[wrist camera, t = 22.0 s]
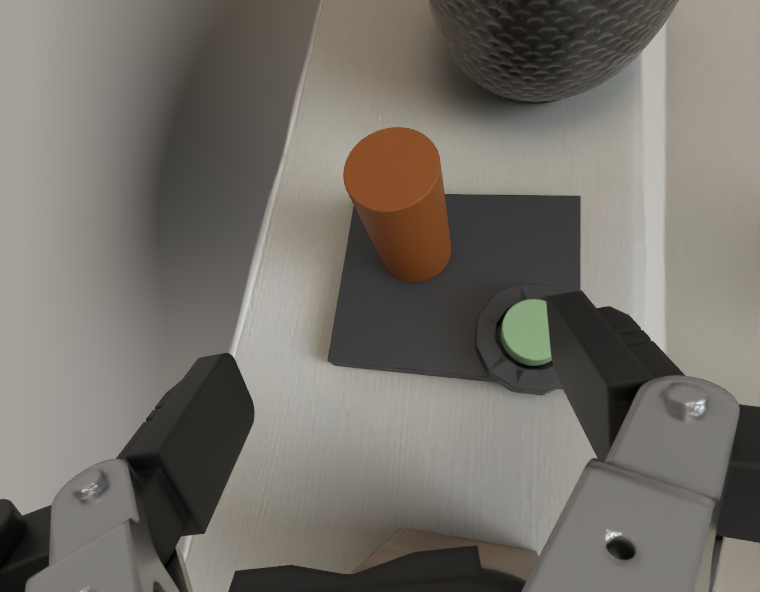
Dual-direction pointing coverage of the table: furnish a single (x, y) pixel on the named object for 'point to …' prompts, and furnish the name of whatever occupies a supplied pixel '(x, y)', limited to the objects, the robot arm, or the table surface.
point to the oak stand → (416, 540)
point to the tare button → (527, 333)
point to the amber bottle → (401, 201)
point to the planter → (546, 42)
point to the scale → (460, 292)
